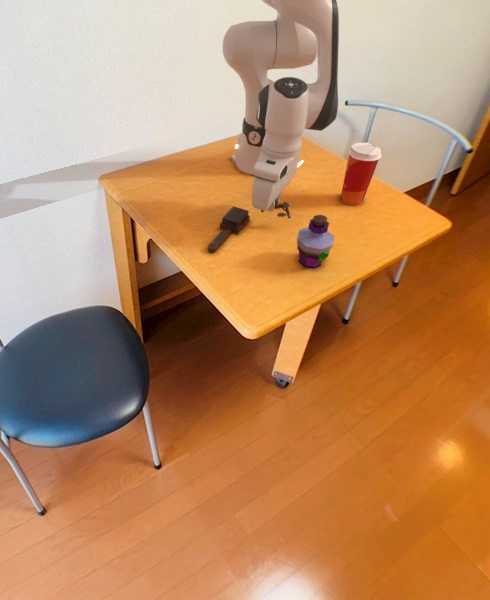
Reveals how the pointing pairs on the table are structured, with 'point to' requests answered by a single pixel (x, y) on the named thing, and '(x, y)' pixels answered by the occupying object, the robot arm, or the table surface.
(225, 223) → the mallet
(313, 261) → the potion bottle
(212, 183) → the table surface
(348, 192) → the coffee cup
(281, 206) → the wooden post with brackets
